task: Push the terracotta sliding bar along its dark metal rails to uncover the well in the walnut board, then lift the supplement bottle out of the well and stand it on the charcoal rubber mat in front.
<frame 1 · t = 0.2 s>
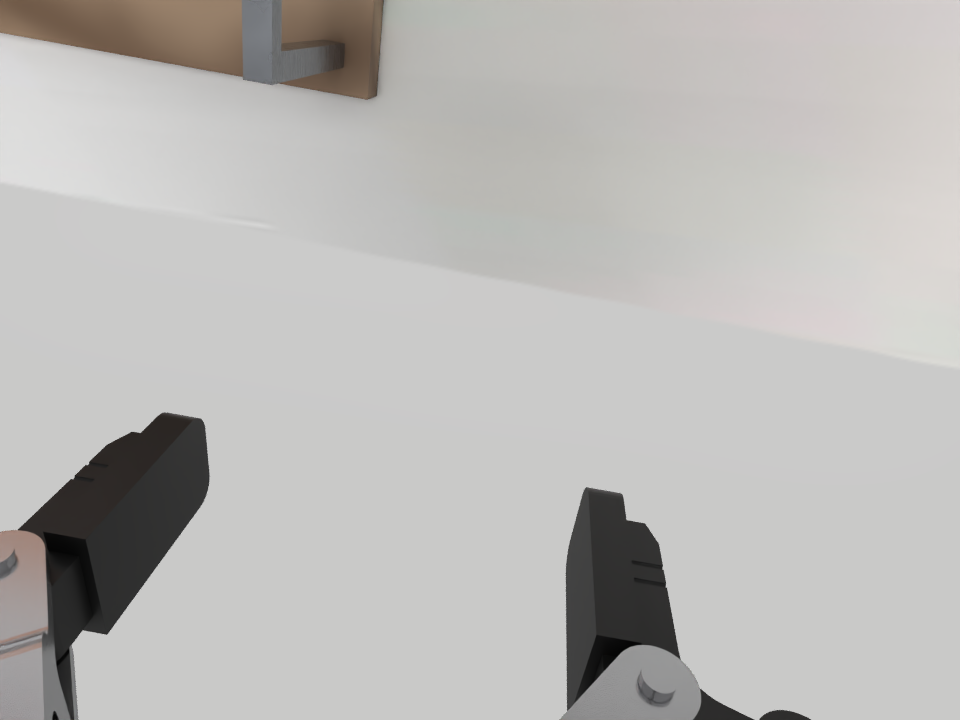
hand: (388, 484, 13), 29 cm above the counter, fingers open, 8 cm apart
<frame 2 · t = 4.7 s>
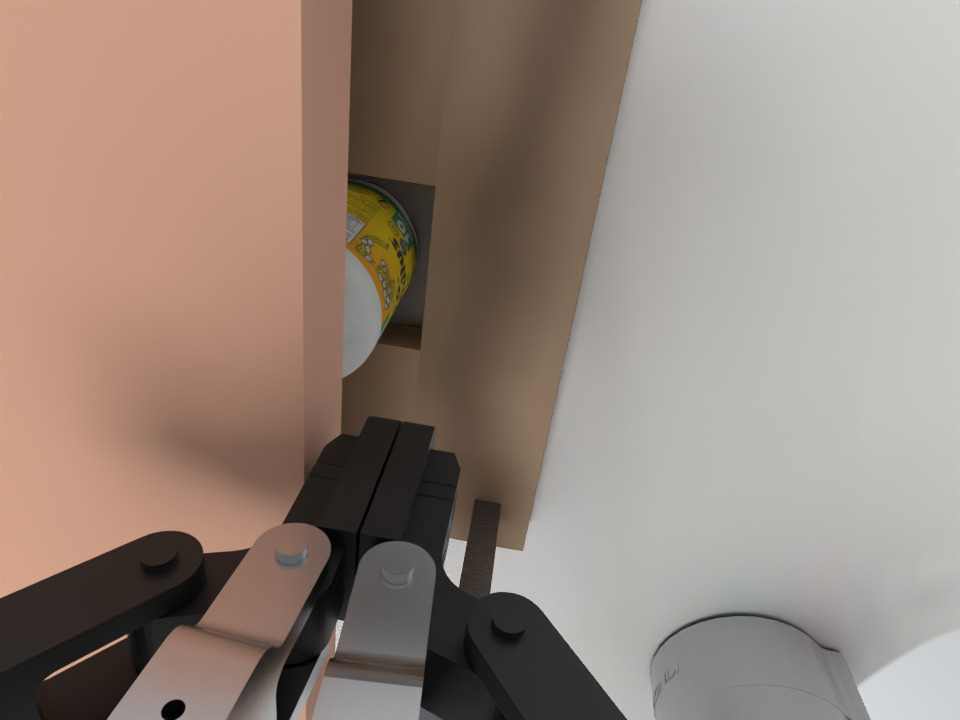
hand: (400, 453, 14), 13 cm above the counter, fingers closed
sliding cover: (149, 424, 14), point 13 cm above the counter, slide at 0.9 cm, touching gripper
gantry: (137, 287, 20), on the well board, point 7 cm above the counter
well board: (356, 243, 26), on the counter
supplement bottle: (357, 241, 26), resting in well board
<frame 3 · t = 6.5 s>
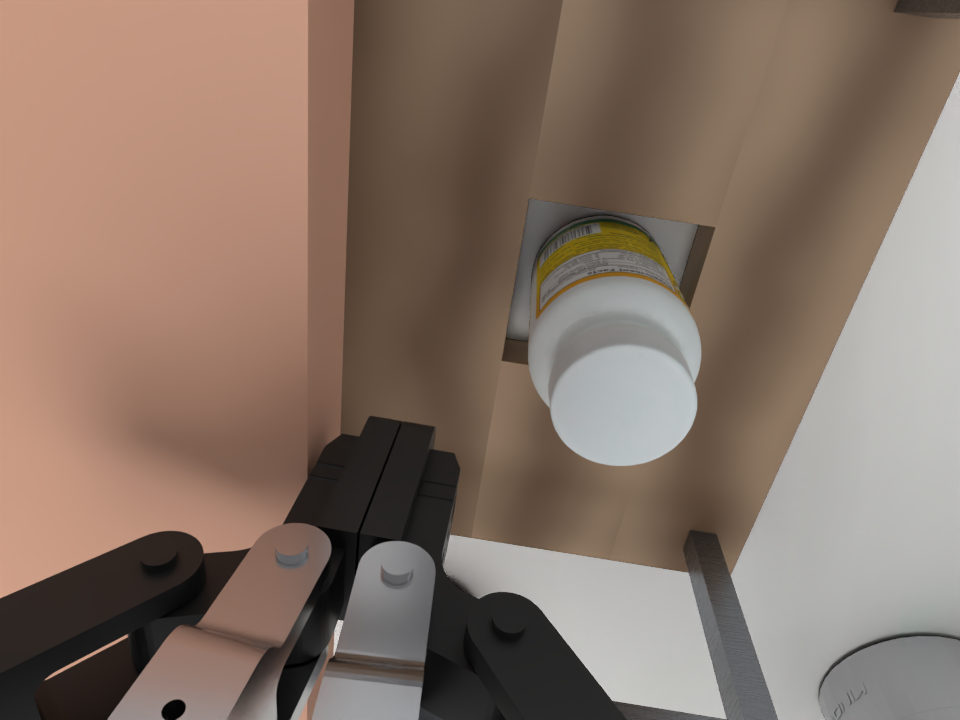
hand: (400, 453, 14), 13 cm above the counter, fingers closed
sliding cover: (147, 425, 14), point 13 cm above the counter, slide at 11.1 cm, touching gripper
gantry: (453, 337, 20), on the well board, point 7 cm above the counter
well board: (597, 278, 26), on the counter
supplement bottle: (596, 276, 26), resting in well board
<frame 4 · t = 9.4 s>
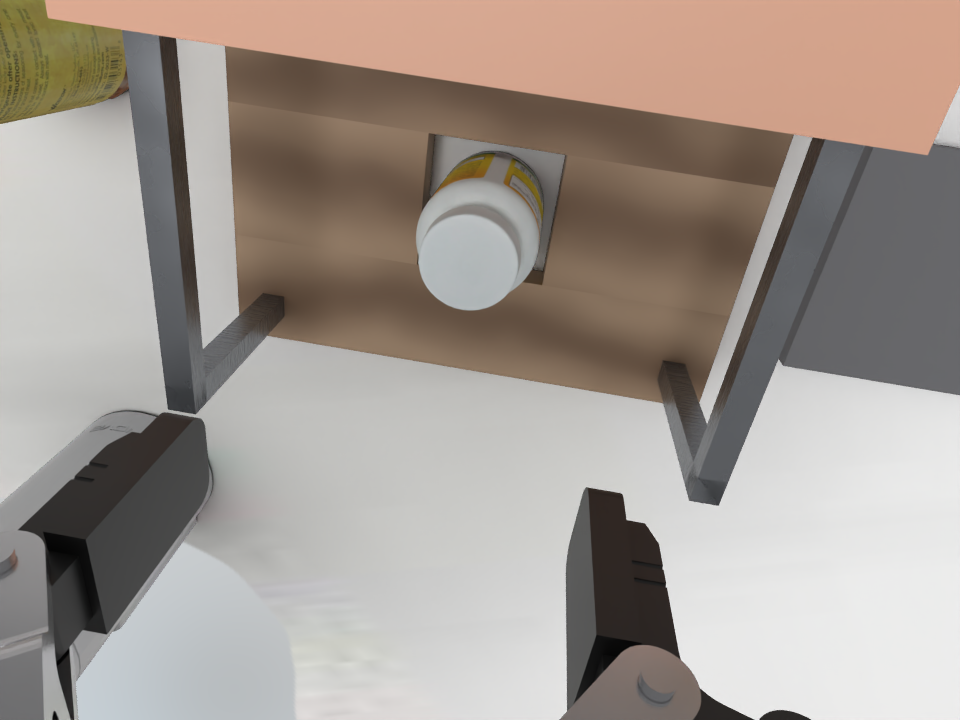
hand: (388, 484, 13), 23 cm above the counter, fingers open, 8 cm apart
mat: (937, 274, 33), on the counter
sauce bottle: (89, 34, 32), on the counter
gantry: (493, 121, 25), on the well board, point 7 cm above the counter
well board: (491, 202, 34), on the counter
supplement bottle: (492, 201, 34), resting in well board
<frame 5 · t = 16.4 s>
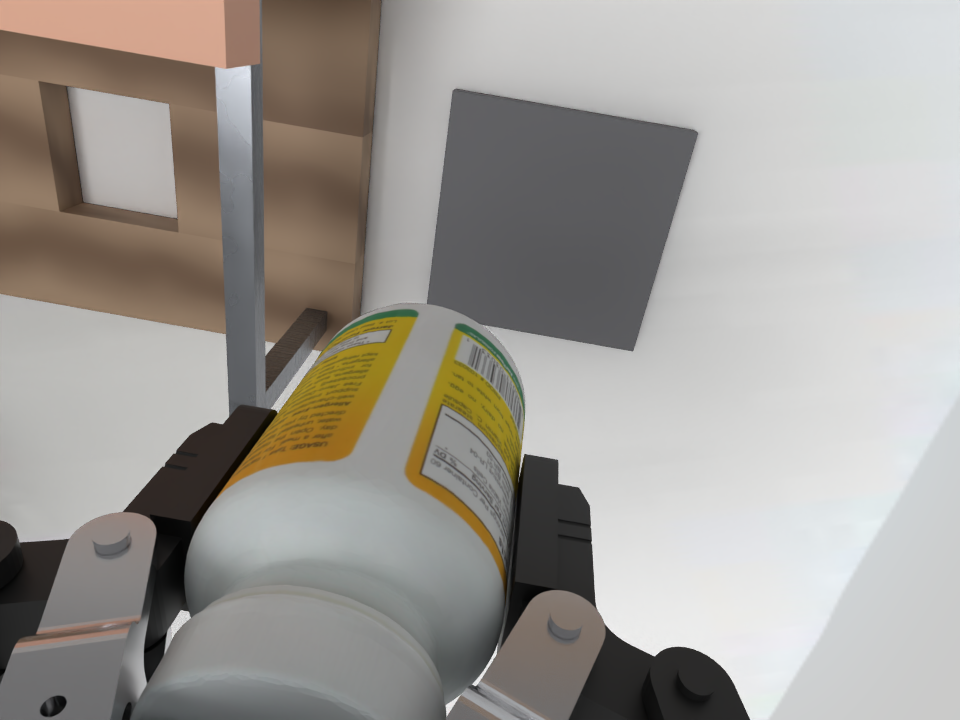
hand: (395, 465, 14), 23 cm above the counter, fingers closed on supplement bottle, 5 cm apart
mat: (550, 226, 35), on the counter
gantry: (24, 60, 27), on the well board, point 7 cm above the counter
well board: (133, 153, 35), on the counter
supplement bottle: (422, 387, 17), point 20 cm above the counter, touching gripper
when the fingers open (5 cm above the counter, at t = 20.5 s): supplement bottle drops 1 cm, resting on mat.
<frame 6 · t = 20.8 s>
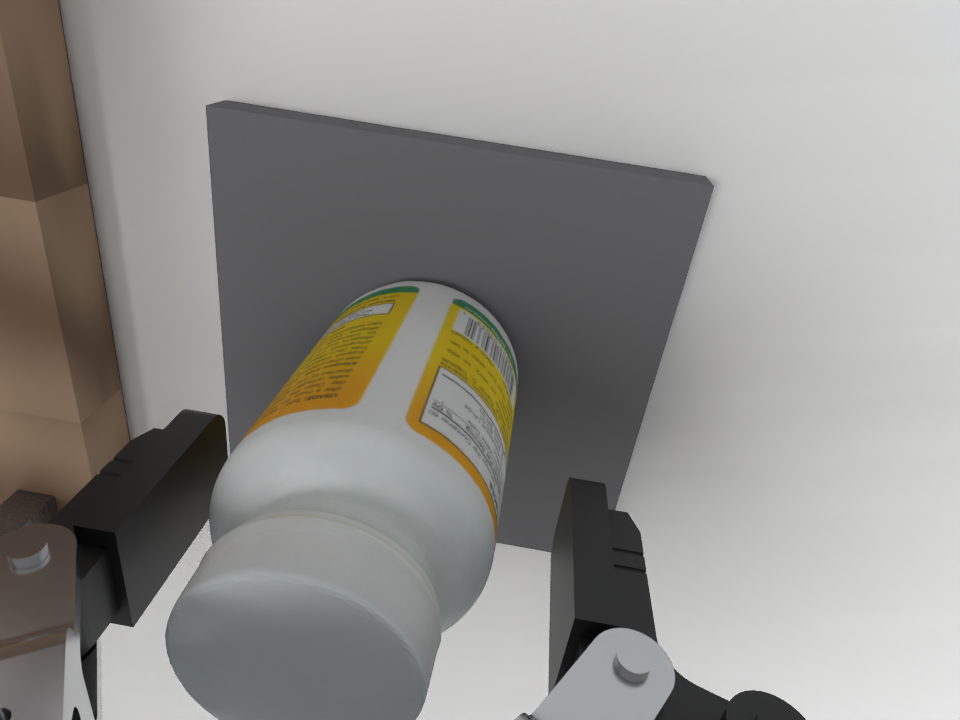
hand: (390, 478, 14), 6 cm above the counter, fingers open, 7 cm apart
mat: (438, 350, 19), on the counter
supplement bottle: (423, 362, 18), point 1 cm above the counter, touching mat
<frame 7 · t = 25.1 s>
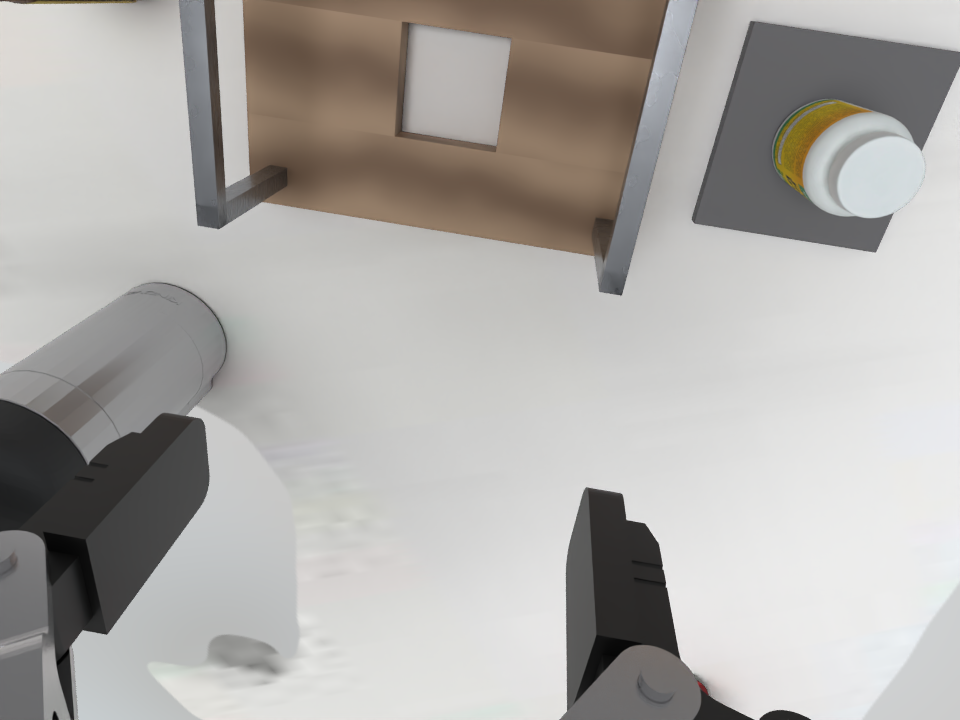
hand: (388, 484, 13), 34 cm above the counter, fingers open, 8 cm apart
mat: (813, 142, 41), on the counter
well board: (455, 86, 42), on the counter
supplement bottle: (813, 143, 40), point 1 cm above the counter, touching mat
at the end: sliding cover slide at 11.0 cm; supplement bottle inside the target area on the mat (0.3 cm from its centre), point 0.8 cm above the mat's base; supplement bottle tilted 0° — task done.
